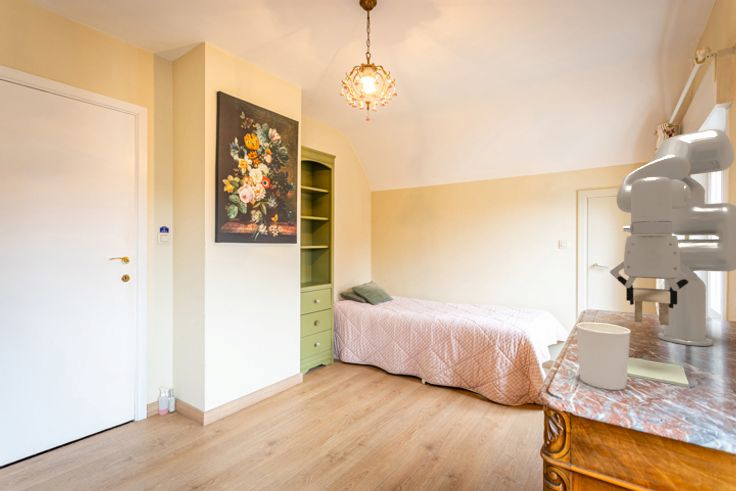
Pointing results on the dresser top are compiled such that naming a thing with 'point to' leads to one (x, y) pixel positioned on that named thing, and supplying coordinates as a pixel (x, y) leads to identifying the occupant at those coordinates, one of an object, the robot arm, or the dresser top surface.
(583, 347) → the candle holder
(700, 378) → the dresser top surface
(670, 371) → the felt mat
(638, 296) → the footstool
